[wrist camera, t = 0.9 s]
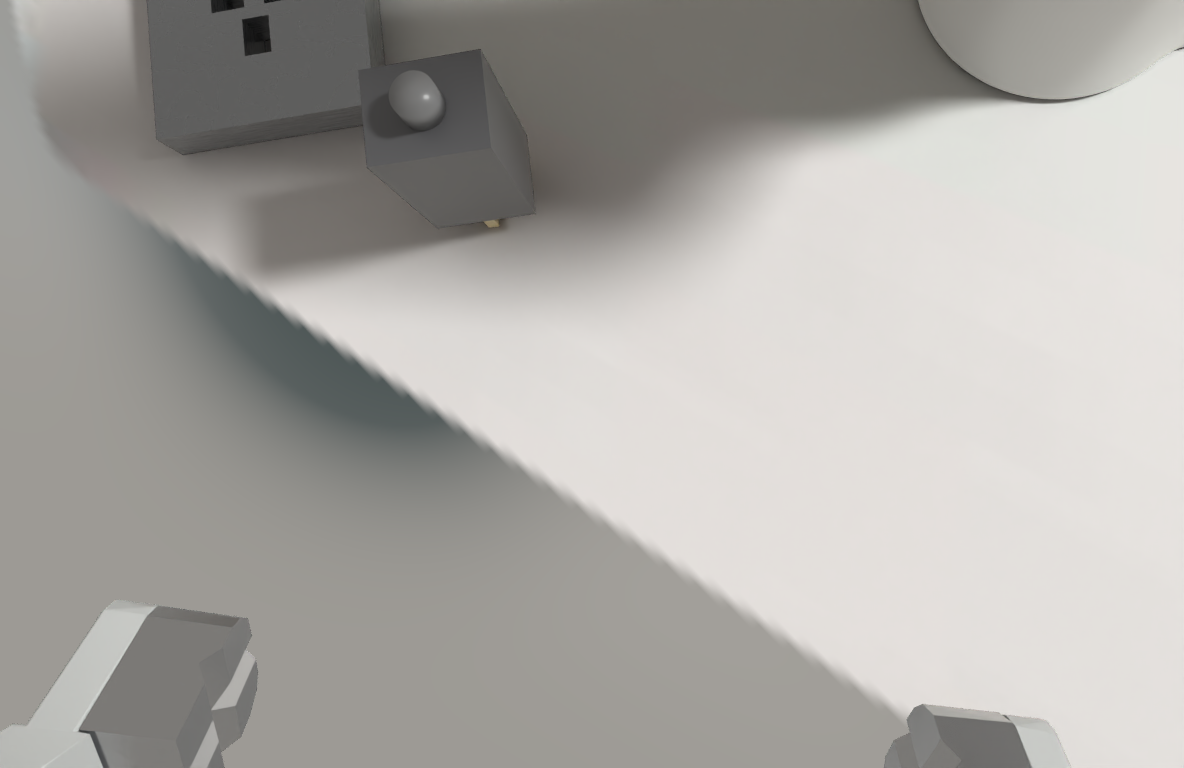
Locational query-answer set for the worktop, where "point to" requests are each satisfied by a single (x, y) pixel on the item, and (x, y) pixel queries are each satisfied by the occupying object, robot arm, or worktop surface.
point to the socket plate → (258, 68)
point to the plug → (447, 139)
